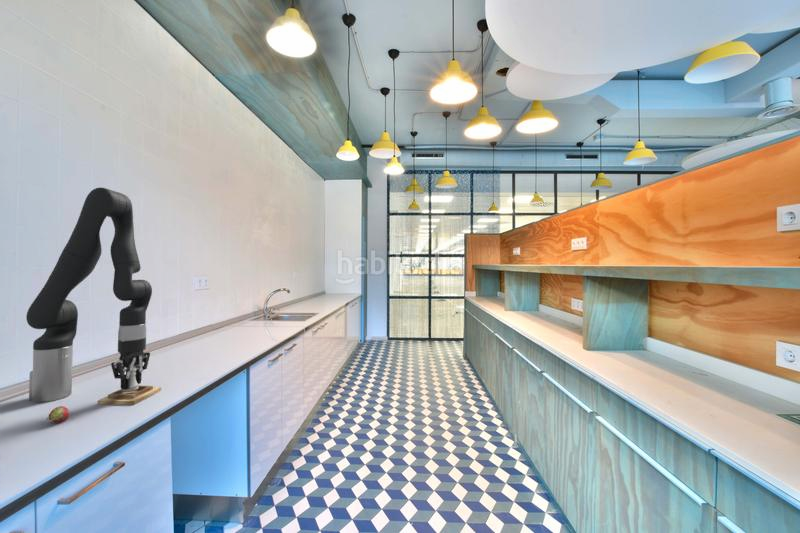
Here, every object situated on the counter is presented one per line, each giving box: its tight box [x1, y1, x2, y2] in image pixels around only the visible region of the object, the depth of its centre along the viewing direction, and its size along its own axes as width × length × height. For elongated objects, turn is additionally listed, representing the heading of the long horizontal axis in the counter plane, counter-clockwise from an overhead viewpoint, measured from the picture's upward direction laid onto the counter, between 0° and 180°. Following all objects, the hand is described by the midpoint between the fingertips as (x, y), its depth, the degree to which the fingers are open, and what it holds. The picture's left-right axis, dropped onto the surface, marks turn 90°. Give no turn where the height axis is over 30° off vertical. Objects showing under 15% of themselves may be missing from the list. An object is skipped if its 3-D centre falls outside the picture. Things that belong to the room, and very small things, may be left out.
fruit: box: [46, 405, 70, 424], centre depth 93 cm, size 4×6×5 cm
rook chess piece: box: [122, 366, 140, 392], centre depth 111 cm, size 4×4×8 cm
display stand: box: [97, 385, 162, 406], centre depth 111 cm, size 12×12×2 cm
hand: (131, 386), depth 111 cm, fingers closed on rook chess piece, 4 cm apart
